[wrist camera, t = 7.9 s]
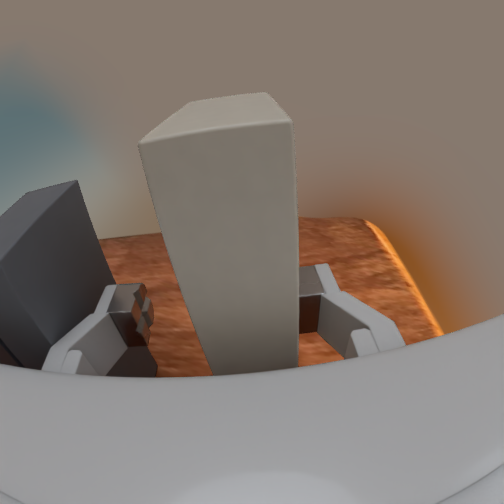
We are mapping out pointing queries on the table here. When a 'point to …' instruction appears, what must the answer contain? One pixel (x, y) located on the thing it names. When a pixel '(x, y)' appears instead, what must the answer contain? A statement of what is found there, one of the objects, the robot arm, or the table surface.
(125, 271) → the table surface
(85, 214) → the grey books
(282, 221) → the white book
